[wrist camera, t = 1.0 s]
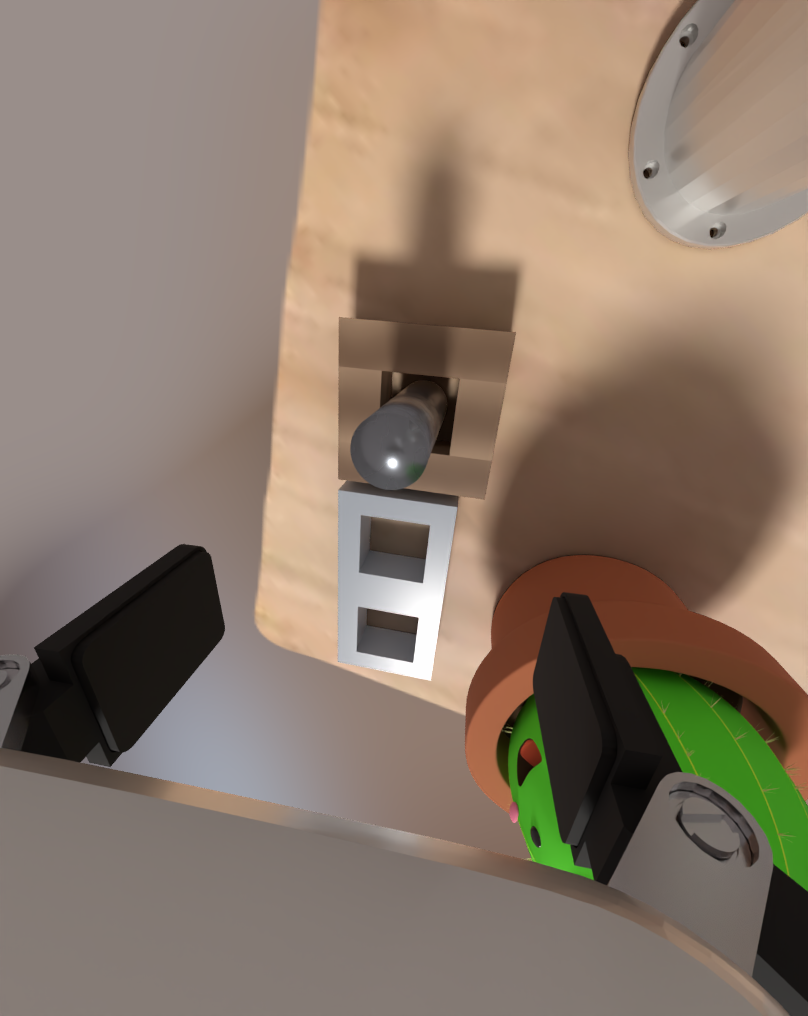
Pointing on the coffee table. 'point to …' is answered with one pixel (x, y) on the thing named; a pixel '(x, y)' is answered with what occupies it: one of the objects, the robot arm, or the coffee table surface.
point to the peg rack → (391, 578)
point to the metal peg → (399, 436)
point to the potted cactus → (669, 691)
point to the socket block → (431, 352)
